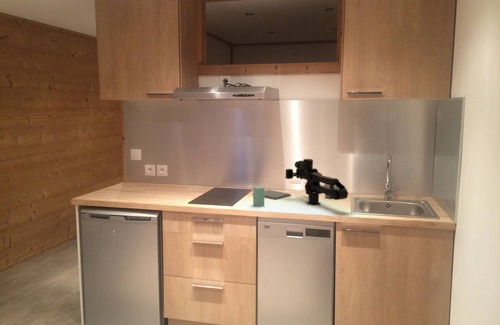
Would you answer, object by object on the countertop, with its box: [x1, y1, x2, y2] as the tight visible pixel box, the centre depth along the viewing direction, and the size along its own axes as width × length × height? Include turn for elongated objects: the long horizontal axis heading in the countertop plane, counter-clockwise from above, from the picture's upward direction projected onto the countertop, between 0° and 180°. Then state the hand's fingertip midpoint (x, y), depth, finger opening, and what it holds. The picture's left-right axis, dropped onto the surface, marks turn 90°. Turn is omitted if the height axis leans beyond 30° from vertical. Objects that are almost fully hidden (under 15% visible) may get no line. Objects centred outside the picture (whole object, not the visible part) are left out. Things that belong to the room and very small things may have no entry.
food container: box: [323, 183, 339, 200], centre depth 250 cm, size 12×6×10 cm, turn 126°
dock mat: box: [264, 189, 292, 201], centre depth 256 cm, size 20×16×2 cm
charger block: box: [252, 186, 266, 208], centre depth 228 cm, size 5×5×11 cm
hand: (291, 171), depth 255 cm, fingers open, 9 cm apart
